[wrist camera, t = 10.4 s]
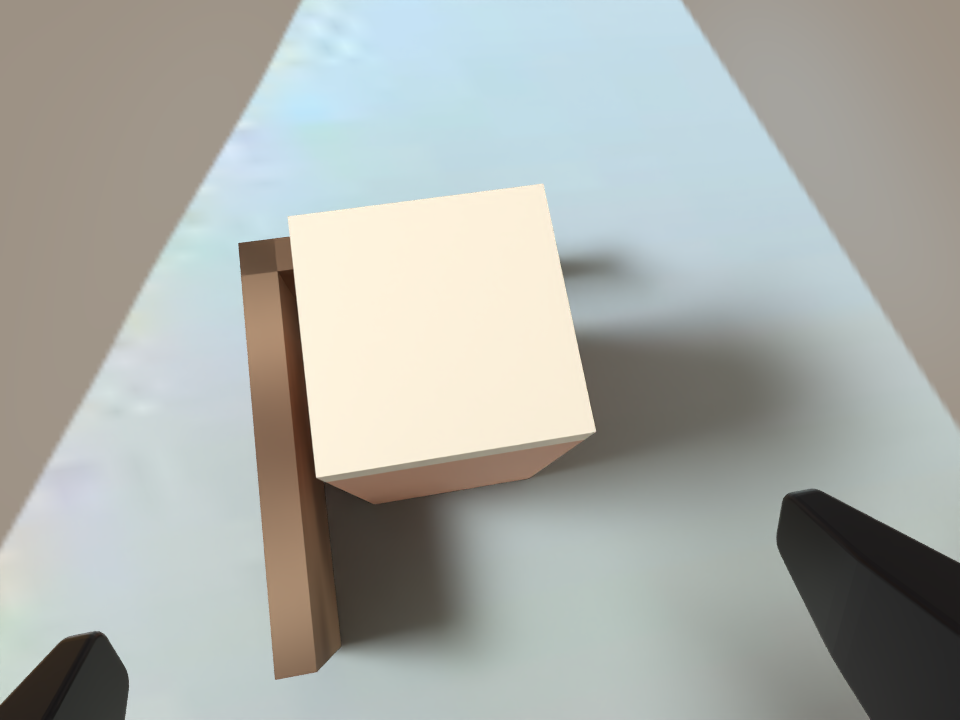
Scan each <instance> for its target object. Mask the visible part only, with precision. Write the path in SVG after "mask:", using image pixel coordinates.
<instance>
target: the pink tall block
mask: <svg viewBox="0 0 960 720" xmlns="http://www.w3.org/2000/svg"><path fill="white" fill-rule="evenodd" d="M288 223H289V232H290V242H291V251H292V260H293V269H294V278H295V288H296V297H297V306H298V315H299V324H300V334H301V343H302V352H303V361H304V370H305V380H306V389H307V398H308V407H309V416H310V426H311V435H312V444H313V453H314V462H315V472H316V478H318V479H320V480H322V481H324V482H326V483H329V484H331V485H333V486H335V487H337V488H339V489H342V490H344V491H346V492H348V493H350V494H352V495H355V496H357V497H359V498H361V499H363V500H366V501H368V502H370V503H372V504H374V505H375V504H381V503H387V502H393V501H399V500H405V499H410V498H416V497H422V496H428V495H434V494H440V493H446V492H452V491H458V490H464V489H470V488H476V487H481V486H487V485H493V484H499V483H505V482H511V481H517V480H523V479H529V478H530V477H532V476H533V475H535V474H536V473H538V472H539V471H541V470H542V469H543V468H545V467H546V466H548V465H549V464H551V463H552V462H553V461H555V460H556V459H558V458H559V457H561V456H562V455H564V454H565V453H566V452H568V451H569V450H571V449H572V448H574V447H575V446H576V445H578V444H579V443H581V442H582V441H584V440H585V439H587V438H588V437H589V436H591V435H592V434H594V433H595V432H596V429H595V424H594V420H593V415H592V410H591V406H590V401H589V396H588V391H587V387H586V382H585V377H584V373H583V368H582V363H581V359H580V354H579V349H578V344H577V340H576V335H575V330H574V326H573V321H572V316H571V312H570V307H569V302H568V297H567V293H566V288H565V283H564V279H563V274H562V269H561V265H560V260H559V255H558V250H557V246H556V241H555V236H554V232H553V227H552V222H551V218H550V213H549V208H548V203H547V199H546V194H545V189H544V185H543V184H537V185H529V186H521V187H513V188H506V189H498V190H490V191H482V192H475V193H467V194H459V195H451V196H444V197H436V198H428V199H420V200H413V201H405V202H397V203H389V204H382V205H374V206H366V207H358V208H350V209H343V210H335V211H327V212H319V213H312V214H304V215H296V216H288Z"/></svg>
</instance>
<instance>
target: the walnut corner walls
mask: <svg viewBox="0 0 960 720" xmlns="http://www.w3.org/2000/svg"><path fill="white" fill-rule="evenodd" d="M238 245H239V257H240V269H241V281H242V293H243V305H244V316H245V328H246V340H247V352H248V364H249V376H250V388H251V400H252V411H253V423H254V435H255V447H256V459H257V471H258V483H259V495H260V507H261V518H262V530H263V542H264V554H265V566H266V578H267V590H268V602H269V613H270V625H271V637H272V649H273V661H274V673H275V680H277V679H282V678H288V677H293V676H298V675H304V674H309V673H314V672H317V671H318V670H319V669H320V668H321V667H322V666H323V665H324V664H325V663H326V662H327V661H328V660H329V659H330V658H331V657H332V656H333V654H334V653H335V652H336V651H337V650H338V649H339V648H340V647H341V638H340V629H339V619H338V610H337V601H336V591H335V582H334V573H333V564H332V554H331V545H330V536H329V526H328V517H327V508H326V498H325V489H324V481H322V480H320V479H318V478H316V472H315V462H314V453H313V444H312V435H311V426H310V416H309V407H308V398H307V389H306V380H305V370H304V361H303V352H302V343H301V334H300V324H299V315H298V306H297V297H296V288H295V278H294V269H293V260H292V251H291V242H290V237H283V238H275V239H267V240H259V241H251V242H244V243H238Z"/></svg>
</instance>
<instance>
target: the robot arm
mask: <svg viewBox="0 0 960 720" xmlns="http://www.w3.org/2000/svg"><path fill="white" fill-rule="evenodd" d="M776 539H777V546H778V550H779V552H780V555H781V557H782V559H783V561H784V563H785V565H786V567H787V569H788V571H789V573H790V575H791V577H792V579H793V581H794V583H795V585H796V587H797V589H798V591H799V593H800V595H801V597H802V599H803V601H804V603H805V605H806V607H807V609H808V611H809V613H810V615H811V617H812V619H813V621H814V623H815V626H816V628H817V630H818V632H819V634H820V636H821V638H822V640H823V641H824V643H825V645H826V647H827V649H828V651H829V653H830V655H831V657H832V658H833V660H834V662H835V663H836V665H837V667H838V668H839V670H840V672H841V673H842V675H843V677H844V678H845V680H846V681H847V683H848V685H849V686H850V688H851V689H852V691H853V692H854V694H855V696H856V697H857V699H858V700H859V702H860V704H861V705H862V707H863V708H864V710H865V712H866V713H867V715H868V716H869V718H870V720H960V563H959V562H957V561H955V560H953V559H951V558H949V557H947V556H945V555H943V554H941V553H940V552H938V551H936V550H934V549H932V548H930V547H928V546H926V545H924V544H922V543H920V542H918V541H916V540H915V539H913V538H911V537H909V536H907V535H905V534H903V533H901V532H899V531H897V530H895V529H893V528H892V527H890V526H888V525H886V524H884V523H882V522H880V521H878V520H876V519H874V518H872V517H870V516H868V515H867V514H865V513H863V512H861V511H859V510H857V509H855V508H853V507H851V506H849V505H847V504H845V503H844V502H842V501H840V500H838V499H836V498H834V497H832V496H830V495H828V494H826V493H824V492H822V491H820V490H817V489H807V490H802V491H797V492H792V493H788V494H787V495H786V496H785V497H784V498H783V501H782V506H781V512H780V517H779V523H778V529H777V536H776ZM128 691H129V679H128V674H127V670H126V668H125V666H124V665H123V663H122V661H121V660H120V658H119V656H118V655H117V653H116V651H115V650H114V648H113V647H112V645H111V643H110V642H109V640H108V638H107V637H106V636H105V634H103V633H101V632H99V631H93V632H88V633H83V634H78V635H73V636H69V637H67V638H65V639H63V640H62V641H61V642H60V643H59V644H57V645H56V647H55V648H54V649H53V650H52V651H51V652H50V653H49V654H48V655H47V656H46V657H45V658H44V659H43V660H42V661H41V662H40V663H39V664H38V666H37V667H36V668H35V669H34V670H33V671H32V672H31V673H30V674H29V675H28V676H27V677H26V678H25V679H24V680H23V681H22V682H21V684H20V685H19V686H18V687H17V688H16V689H15V690H14V691H13V692H12V693H11V694H10V695H9V696H8V697H7V698H6V699H5V700H4V701H3V703H2V704H1V705H0V720H125V714H126V707H127V699H128Z"/></svg>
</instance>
